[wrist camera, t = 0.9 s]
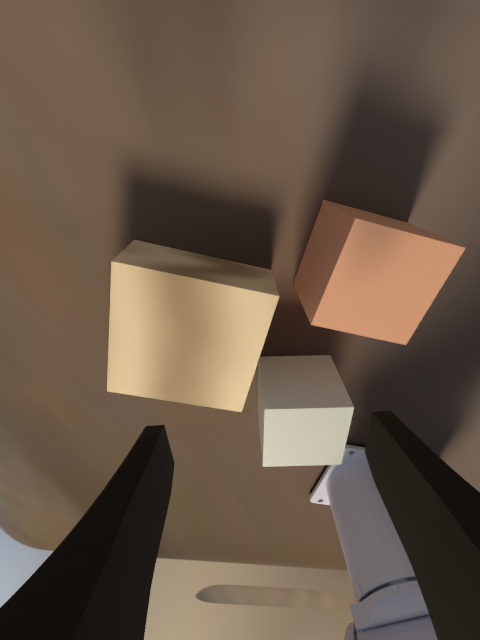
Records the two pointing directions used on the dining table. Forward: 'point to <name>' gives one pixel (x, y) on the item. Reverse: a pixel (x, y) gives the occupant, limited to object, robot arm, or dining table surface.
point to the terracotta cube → (371, 273)
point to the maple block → (186, 325)
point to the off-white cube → (302, 411)
